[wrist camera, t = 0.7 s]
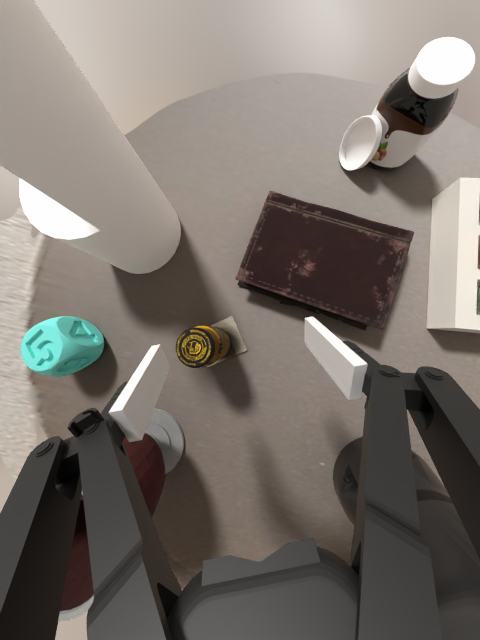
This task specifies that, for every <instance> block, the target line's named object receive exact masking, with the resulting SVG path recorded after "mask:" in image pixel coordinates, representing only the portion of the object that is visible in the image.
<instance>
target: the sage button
mask: <svg viewBox="0 0 480 640" xmlns="http://www.w3.org/2000/svg"><path fill="white" fill-rule="evenodd" d="M477 308H478V309H479V310H480V288H478V289H477Z"/></svg>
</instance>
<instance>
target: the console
mask: <svg viewBox="0 0 480 640" xmlns="http://www.w3.org/2000/svg"><path fill="white" fill-rule="evenodd" d="M479 205H480V178H459V179H458V180H457V181H455V182H454V183H453V184H451V185H450V186H449V187H447V188H446V189H445V190H444V191H442V192H441V193H440V194H438V195H437V196H436V197H434V198H433V199H432V218H431V241H430V263H429V286H428V308H427V329H438V330H448V331H458V332H469V333H479V334H480V310H479V309H478V308H477V289H478V288H480V265H479V264H478V246H479V245H480V222H479Z"/></svg>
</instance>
